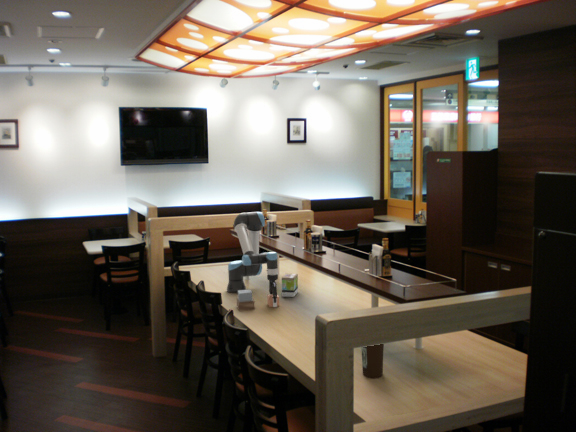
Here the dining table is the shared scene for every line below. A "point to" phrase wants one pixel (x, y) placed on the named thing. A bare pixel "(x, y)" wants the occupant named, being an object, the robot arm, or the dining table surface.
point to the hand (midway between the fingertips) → (273, 304)
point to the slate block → (244, 295)
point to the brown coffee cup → (372, 361)
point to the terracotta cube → (270, 300)
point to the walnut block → (245, 305)
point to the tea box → (289, 285)
